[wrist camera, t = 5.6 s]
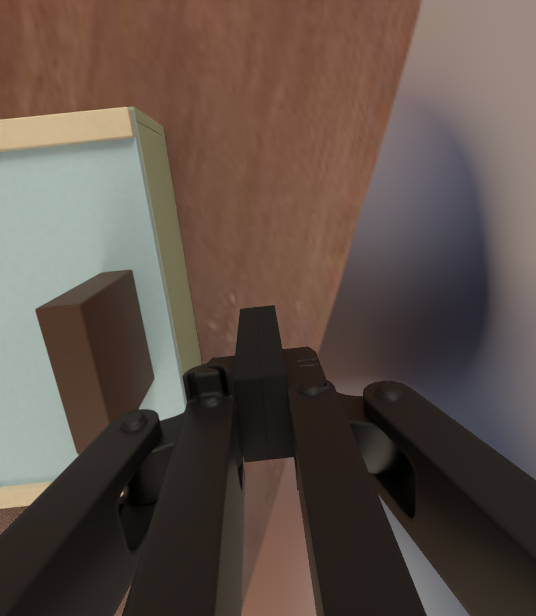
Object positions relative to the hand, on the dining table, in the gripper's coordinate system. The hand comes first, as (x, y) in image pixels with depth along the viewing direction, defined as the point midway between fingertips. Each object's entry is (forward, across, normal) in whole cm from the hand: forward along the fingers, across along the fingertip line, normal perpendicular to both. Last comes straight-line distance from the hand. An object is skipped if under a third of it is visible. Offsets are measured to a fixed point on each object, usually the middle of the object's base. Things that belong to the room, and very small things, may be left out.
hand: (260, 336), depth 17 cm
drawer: (+4, -13, 0) cm, 13 cm away
